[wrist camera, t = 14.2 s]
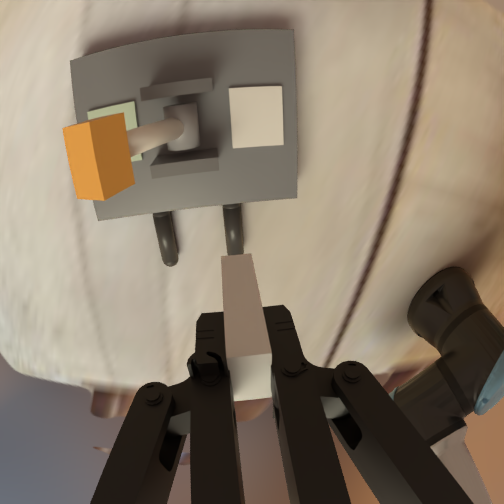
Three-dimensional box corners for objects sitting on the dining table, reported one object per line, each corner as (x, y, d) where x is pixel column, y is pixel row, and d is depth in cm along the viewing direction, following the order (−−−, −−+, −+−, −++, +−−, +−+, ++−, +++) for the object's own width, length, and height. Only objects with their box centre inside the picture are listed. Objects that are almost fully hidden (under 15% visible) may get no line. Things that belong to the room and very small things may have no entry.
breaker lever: (202, 96, 25) (88, 122, 14) (206, 148, 27) (104, 200, 17) (175, 99, 26) (62, 128, 16) (180, 148, 28) (77, 198, 18)
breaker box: (286, 34, 26) (305, 22, 20) (290, 248, 39) (304, 280, 33) (81, 61, 24) (52, 59, 18) (121, 266, 38) (108, 300, 32)
